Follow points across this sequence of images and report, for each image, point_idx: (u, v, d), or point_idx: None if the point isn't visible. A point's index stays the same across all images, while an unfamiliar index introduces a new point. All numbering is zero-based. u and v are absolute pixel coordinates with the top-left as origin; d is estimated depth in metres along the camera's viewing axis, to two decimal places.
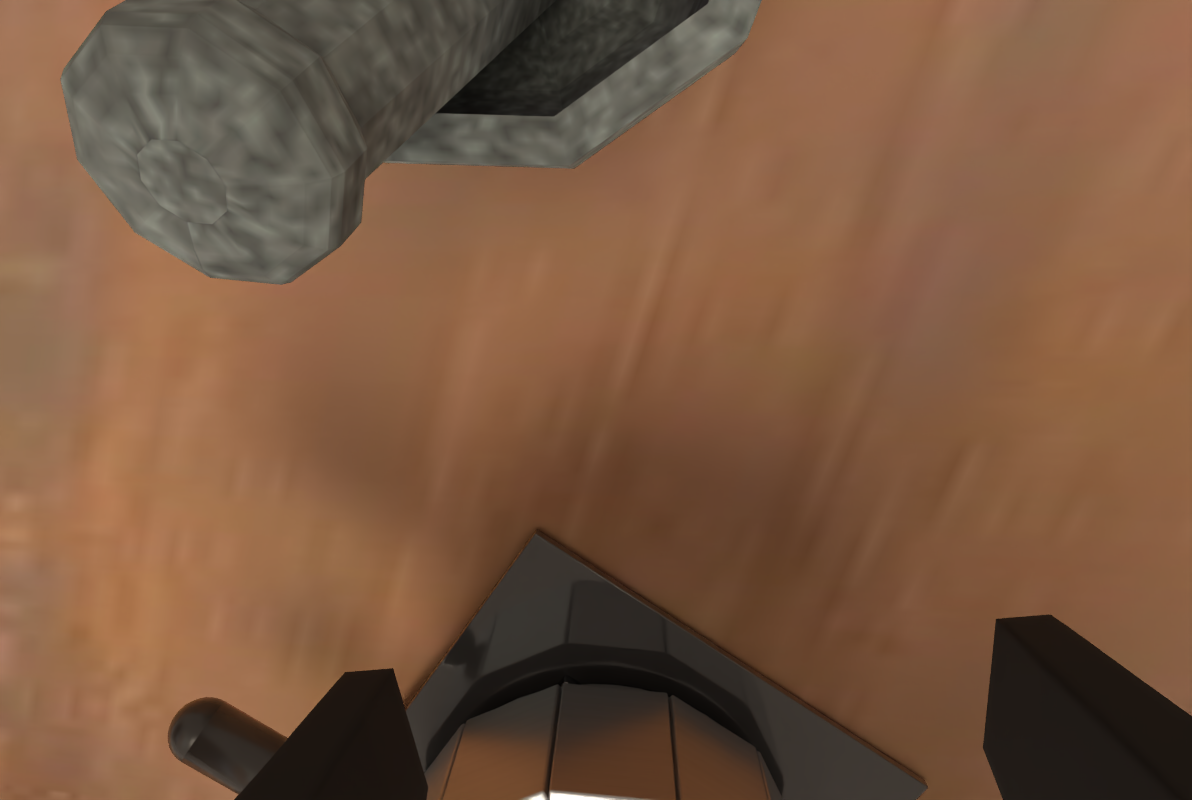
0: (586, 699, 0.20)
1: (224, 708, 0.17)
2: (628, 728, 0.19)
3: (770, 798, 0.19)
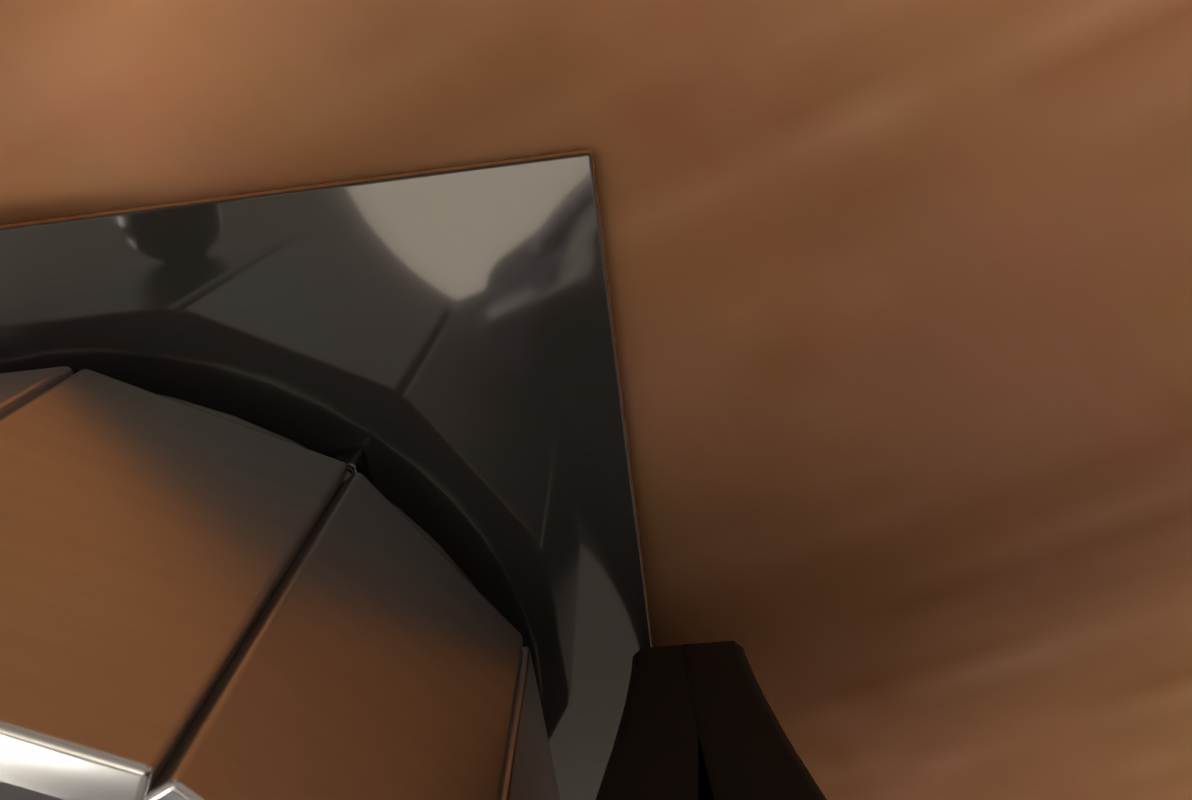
0: (386, 544, 0.08)
1: None
2: (437, 681, 0.07)
3: None
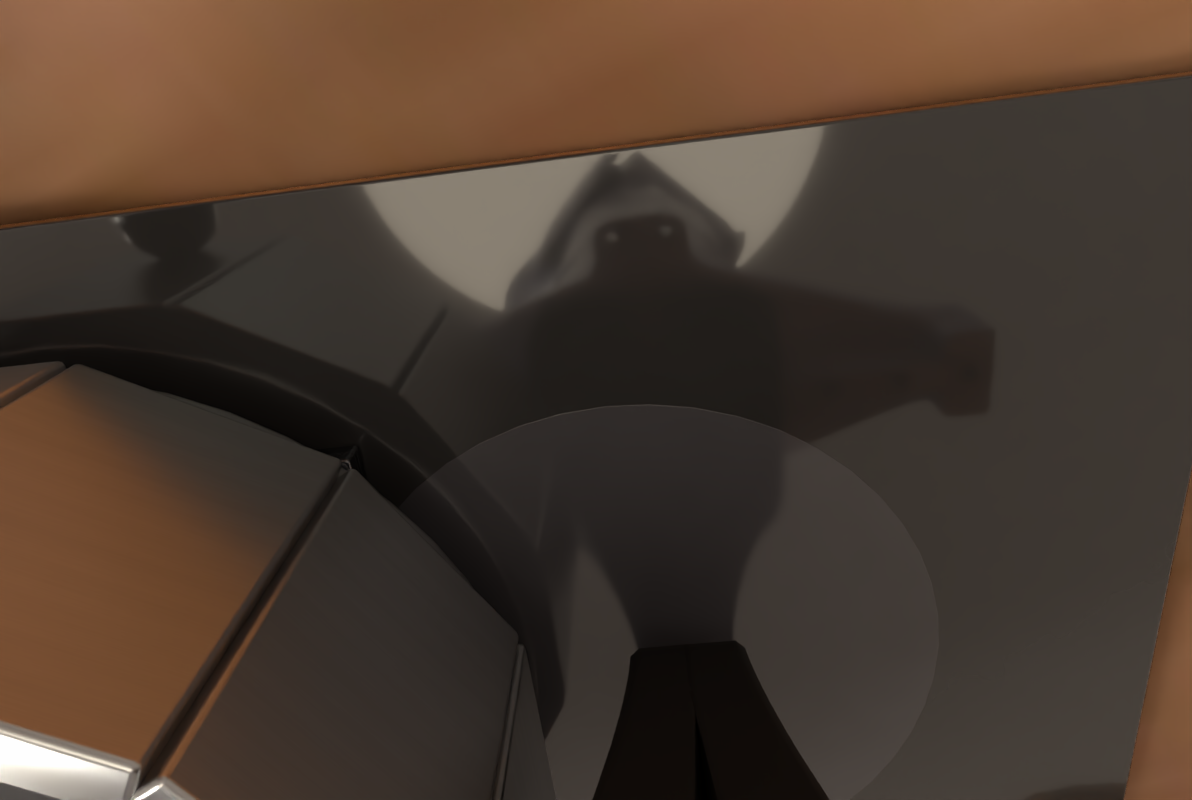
0: (380, 541, 0.08)
1: None
2: (430, 679, 0.07)
3: None
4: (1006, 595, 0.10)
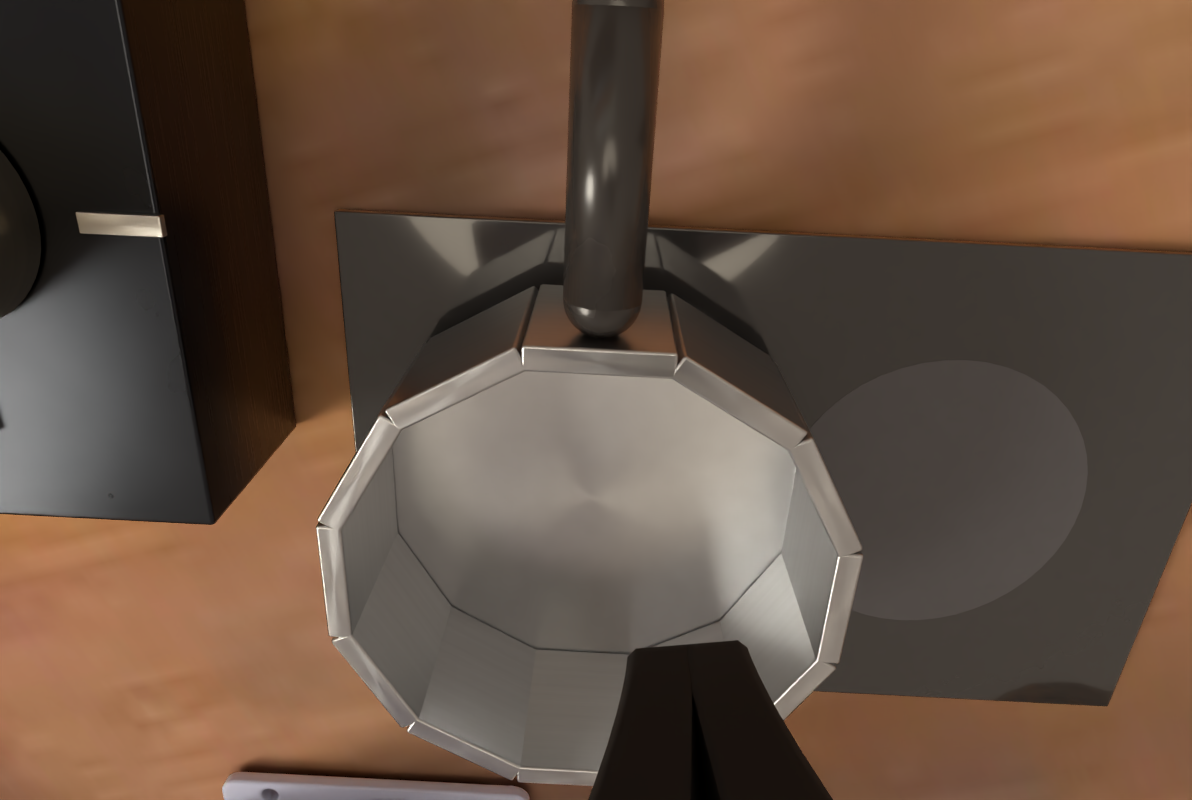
0: None
1: None
2: None
3: None
4: (1120, 484, 0.20)
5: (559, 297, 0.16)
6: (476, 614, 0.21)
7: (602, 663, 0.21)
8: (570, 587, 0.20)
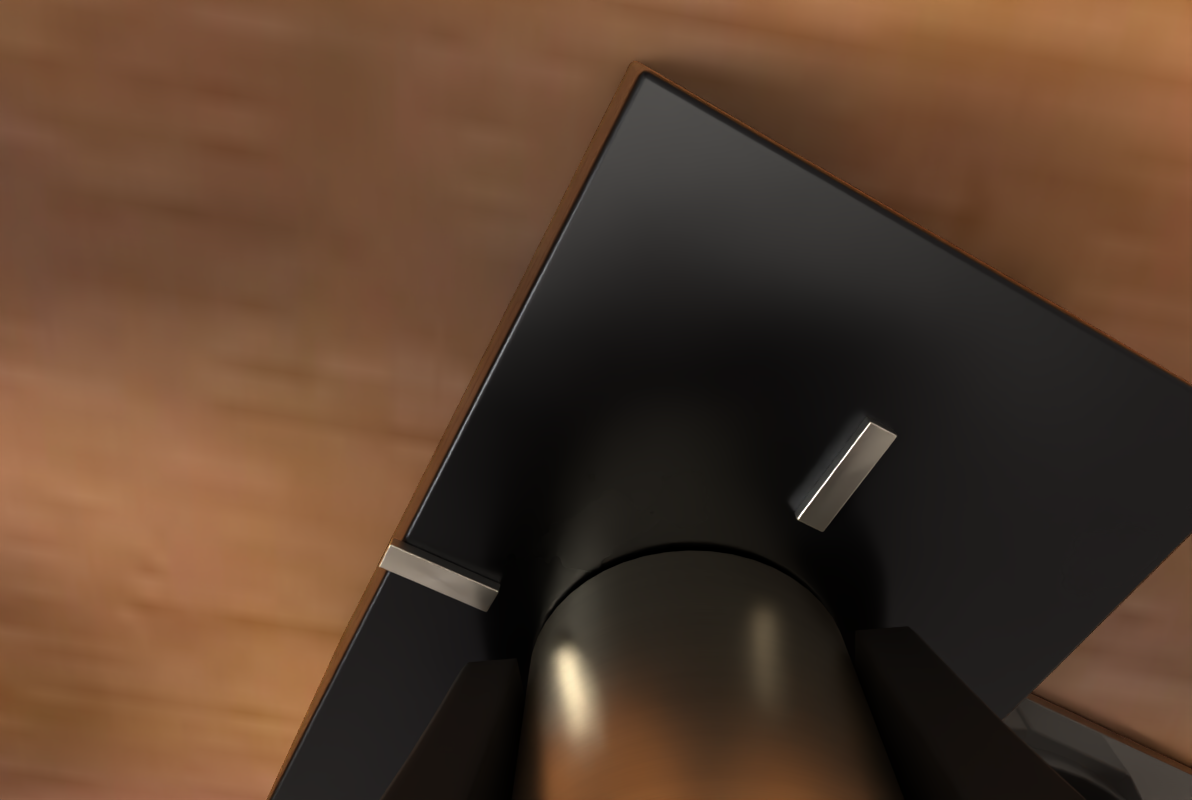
0: None
1: None
2: None
3: None
4: None
5: None
6: None
7: None
8: None
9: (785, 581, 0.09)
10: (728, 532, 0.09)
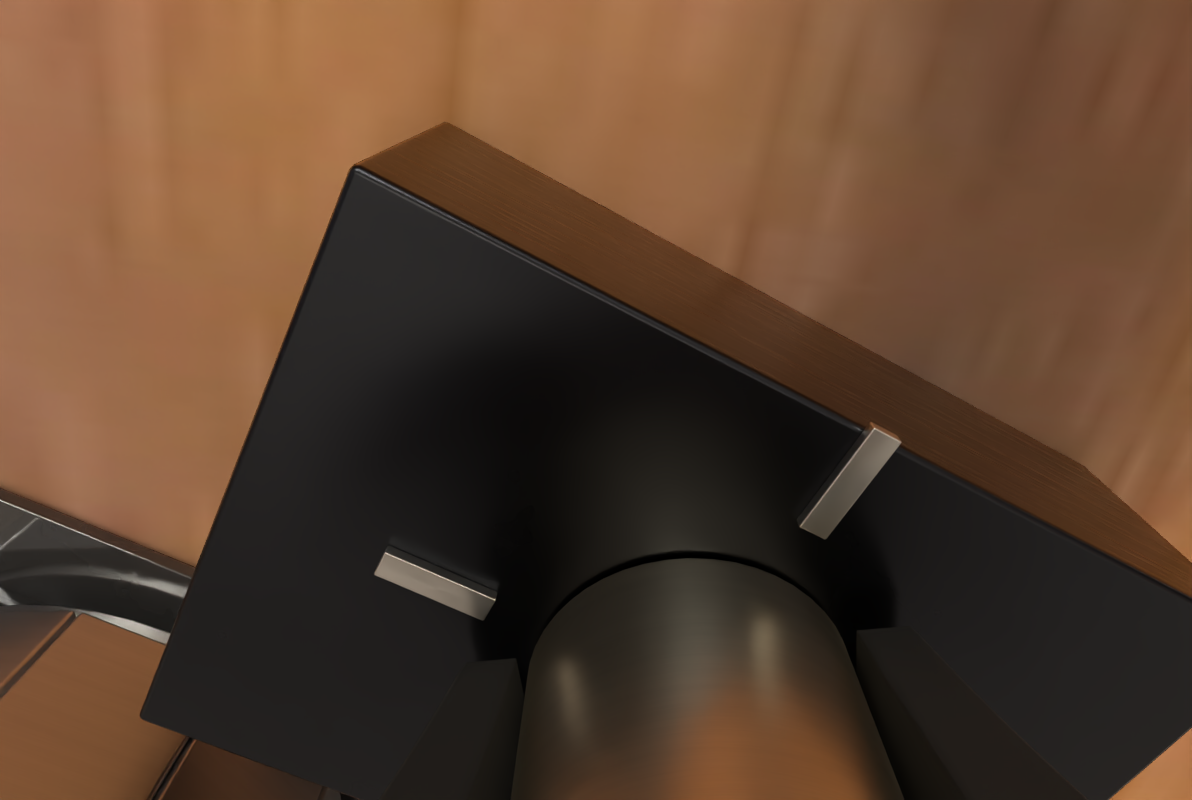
0: None
1: None
2: None
3: None
4: None
5: None
6: None
7: None
8: None
9: (787, 589, 0.09)
10: None
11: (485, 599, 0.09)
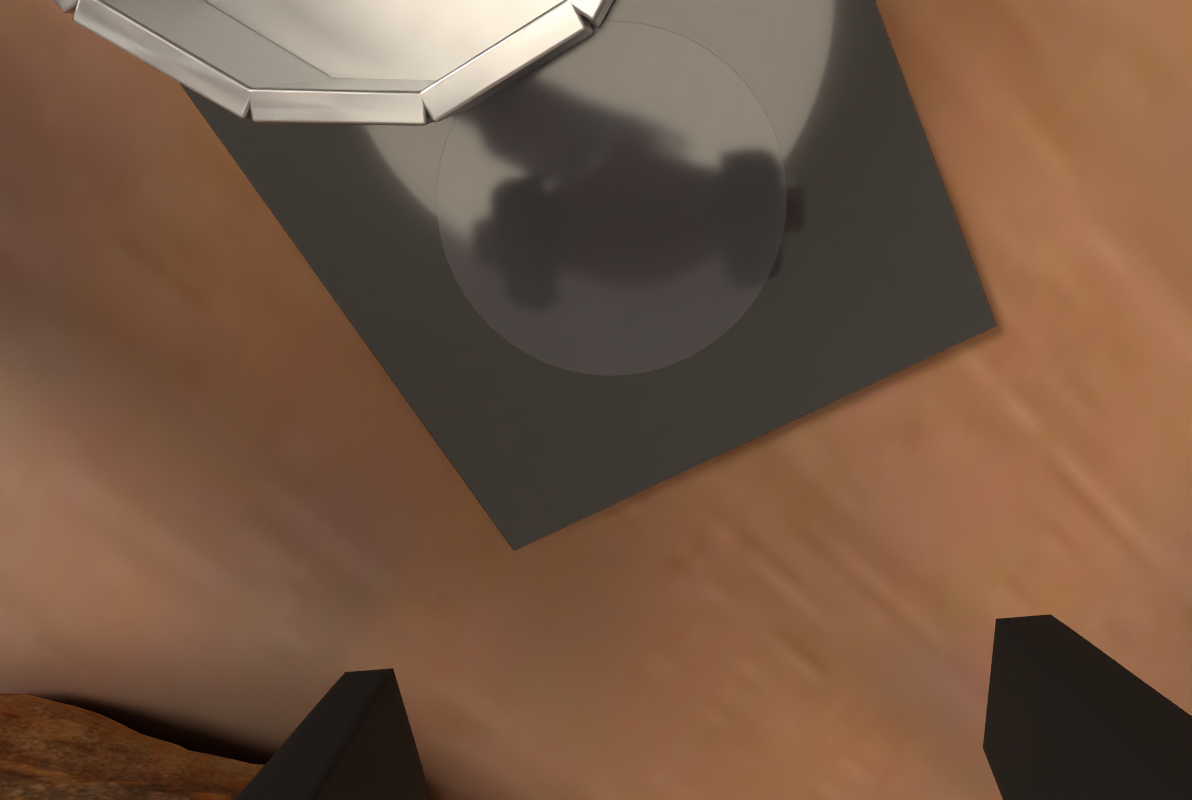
0: None
1: None
2: None
3: None
4: (730, 370, 0.19)
5: None
6: None
7: None
8: None
9: None
10: None
11: None
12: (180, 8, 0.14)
